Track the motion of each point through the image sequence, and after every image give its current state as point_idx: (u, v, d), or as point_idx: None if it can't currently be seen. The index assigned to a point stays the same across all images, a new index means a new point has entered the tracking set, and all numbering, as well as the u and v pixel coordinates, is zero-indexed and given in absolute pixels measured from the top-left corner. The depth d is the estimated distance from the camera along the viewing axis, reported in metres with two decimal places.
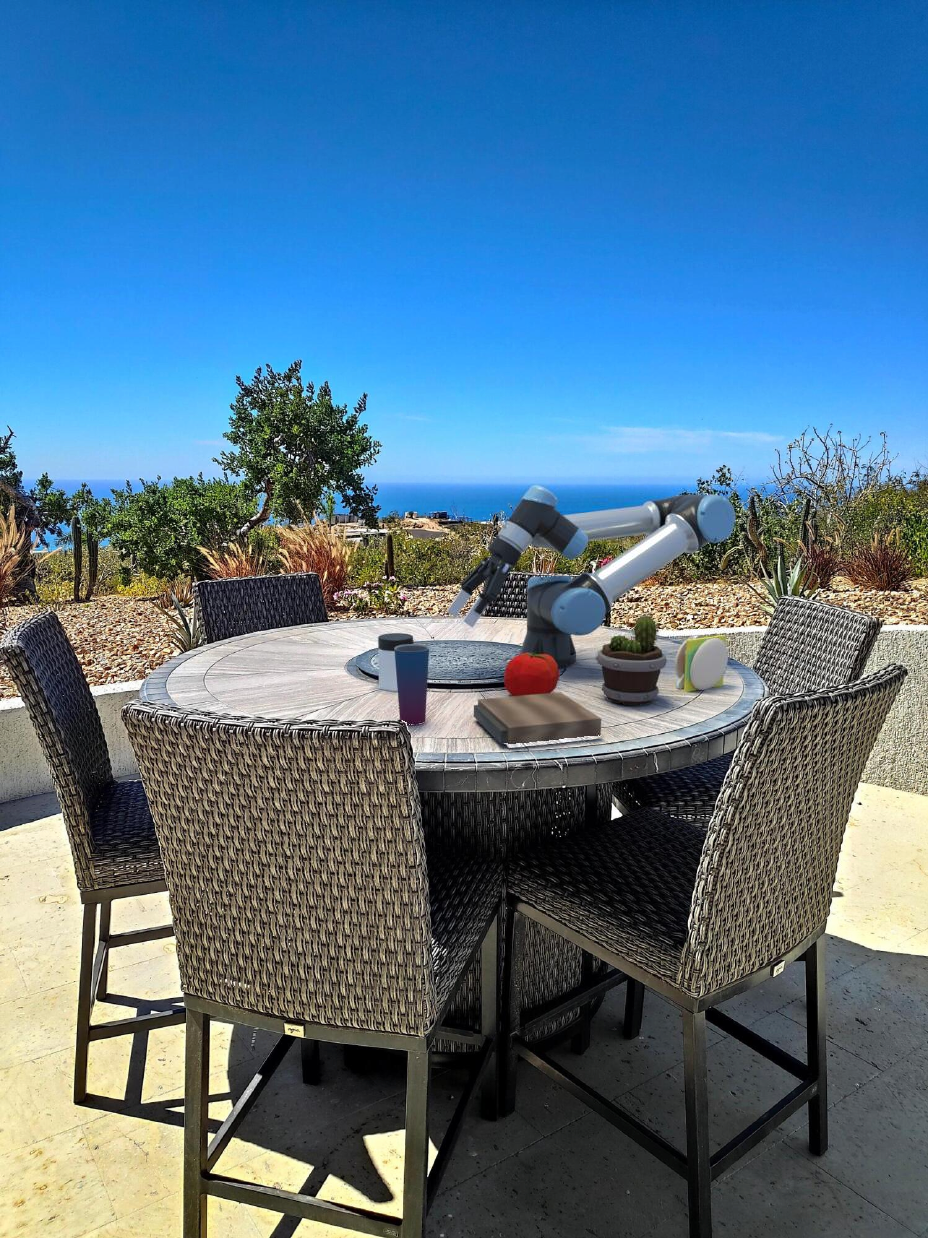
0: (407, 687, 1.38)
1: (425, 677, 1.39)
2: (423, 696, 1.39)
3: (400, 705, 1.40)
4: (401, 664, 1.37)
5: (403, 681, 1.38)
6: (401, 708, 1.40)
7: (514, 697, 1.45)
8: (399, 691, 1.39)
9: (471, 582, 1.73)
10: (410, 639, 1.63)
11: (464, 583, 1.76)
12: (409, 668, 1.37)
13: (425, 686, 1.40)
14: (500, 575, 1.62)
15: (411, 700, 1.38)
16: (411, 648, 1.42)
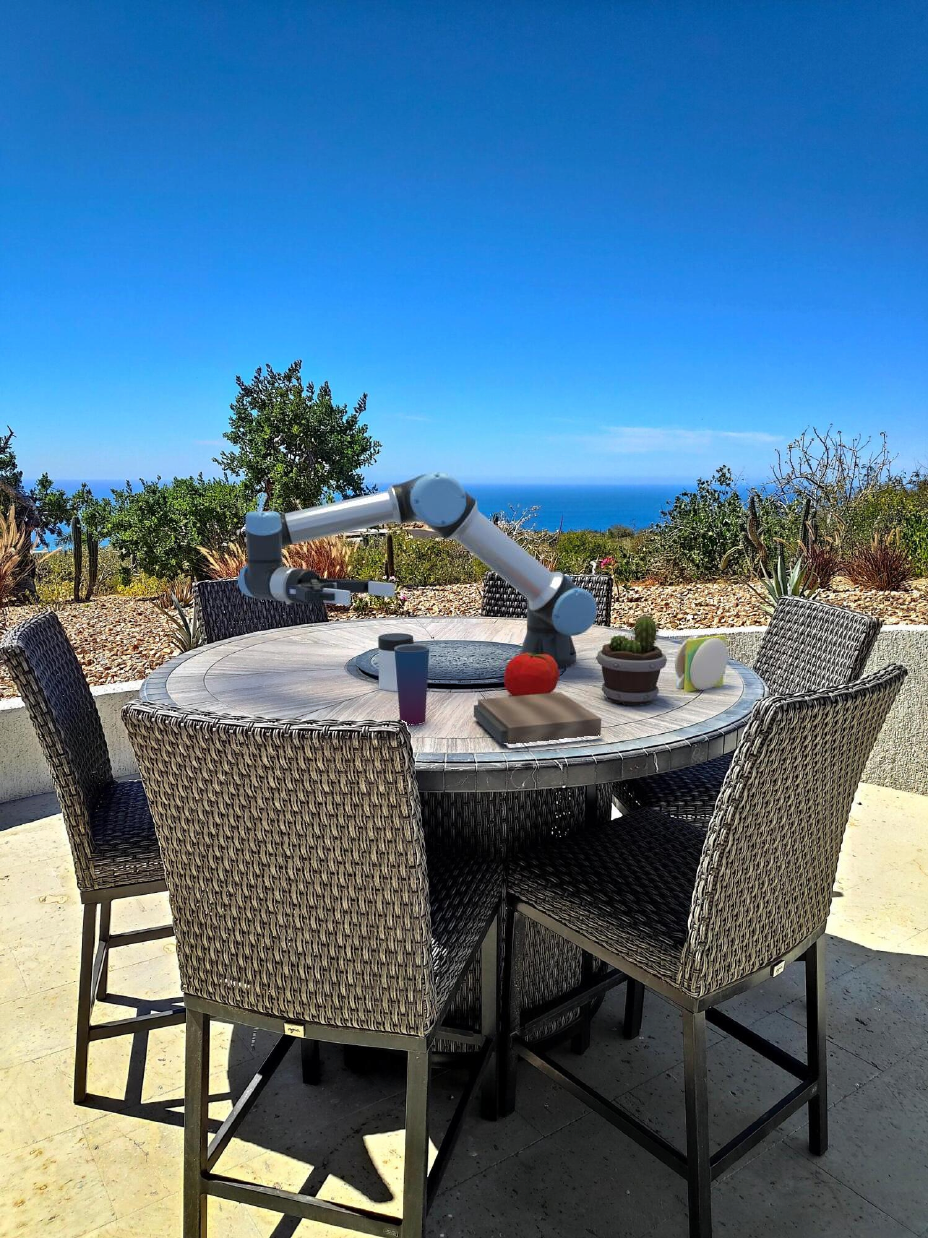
0: (407, 687, 1.38)
1: (425, 677, 1.39)
2: (423, 696, 1.39)
3: (400, 705, 1.40)
4: (401, 664, 1.37)
5: (403, 681, 1.38)
6: (401, 708, 1.40)
7: (514, 697, 1.45)
8: (399, 691, 1.39)
9: (355, 591, 1.52)
10: (410, 639, 1.63)
11: None
12: (409, 668, 1.37)
13: (425, 686, 1.40)
14: (297, 594, 1.44)
15: (411, 700, 1.38)
16: (412, 648, 1.42)
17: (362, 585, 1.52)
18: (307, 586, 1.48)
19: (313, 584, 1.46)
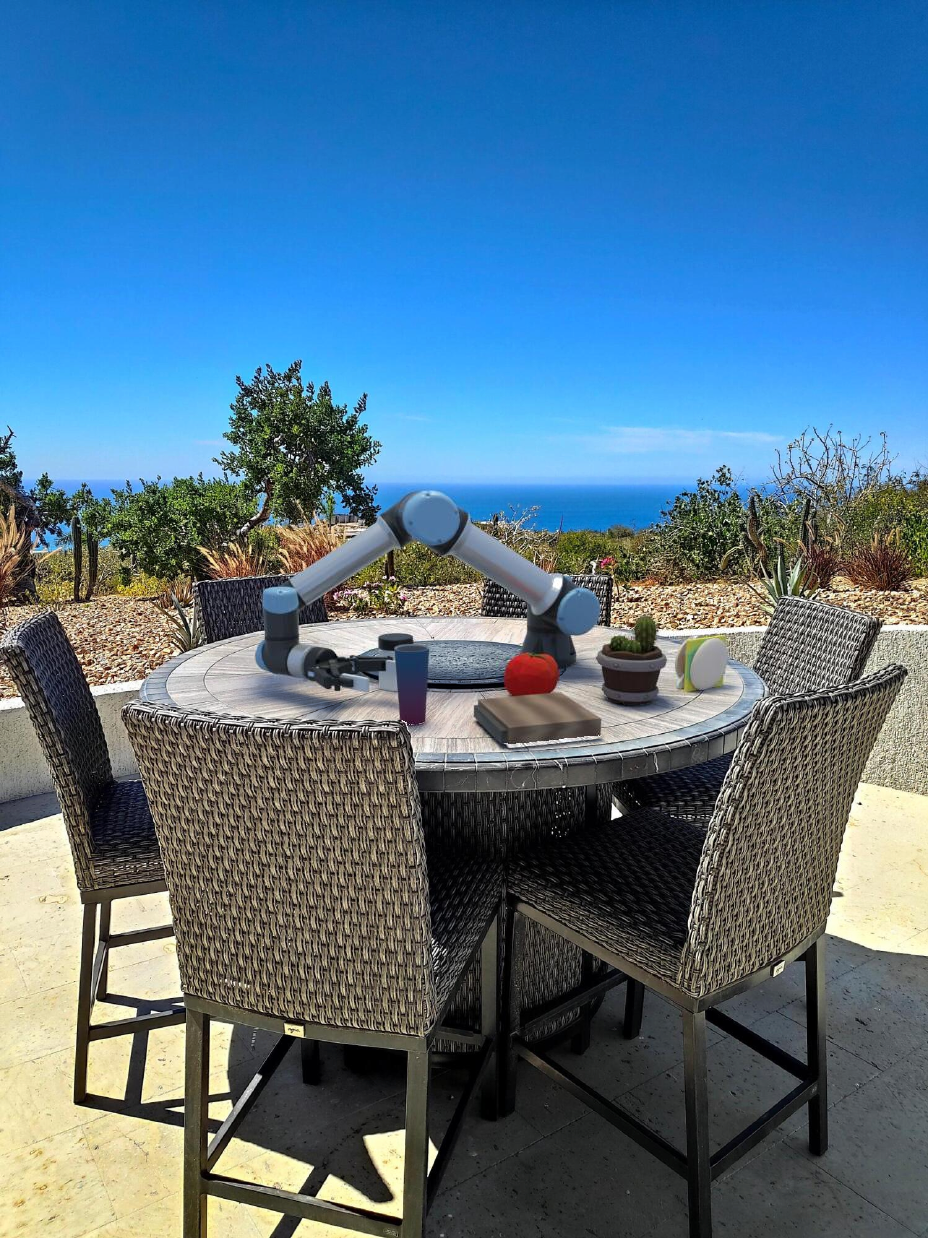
0: (407, 687, 1.38)
1: (425, 677, 1.39)
2: (423, 696, 1.39)
3: (400, 705, 1.40)
4: (401, 664, 1.37)
5: (403, 681, 1.38)
6: (401, 708, 1.40)
7: (514, 697, 1.45)
8: (399, 691, 1.39)
9: (372, 669, 1.52)
10: (410, 639, 1.63)
11: None
12: (409, 668, 1.37)
13: (425, 686, 1.40)
14: (315, 677, 1.44)
15: (411, 700, 1.38)
16: (412, 648, 1.42)
17: (379, 664, 1.52)
18: (325, 667, 1.48)
19: (331, 666, 1.46)
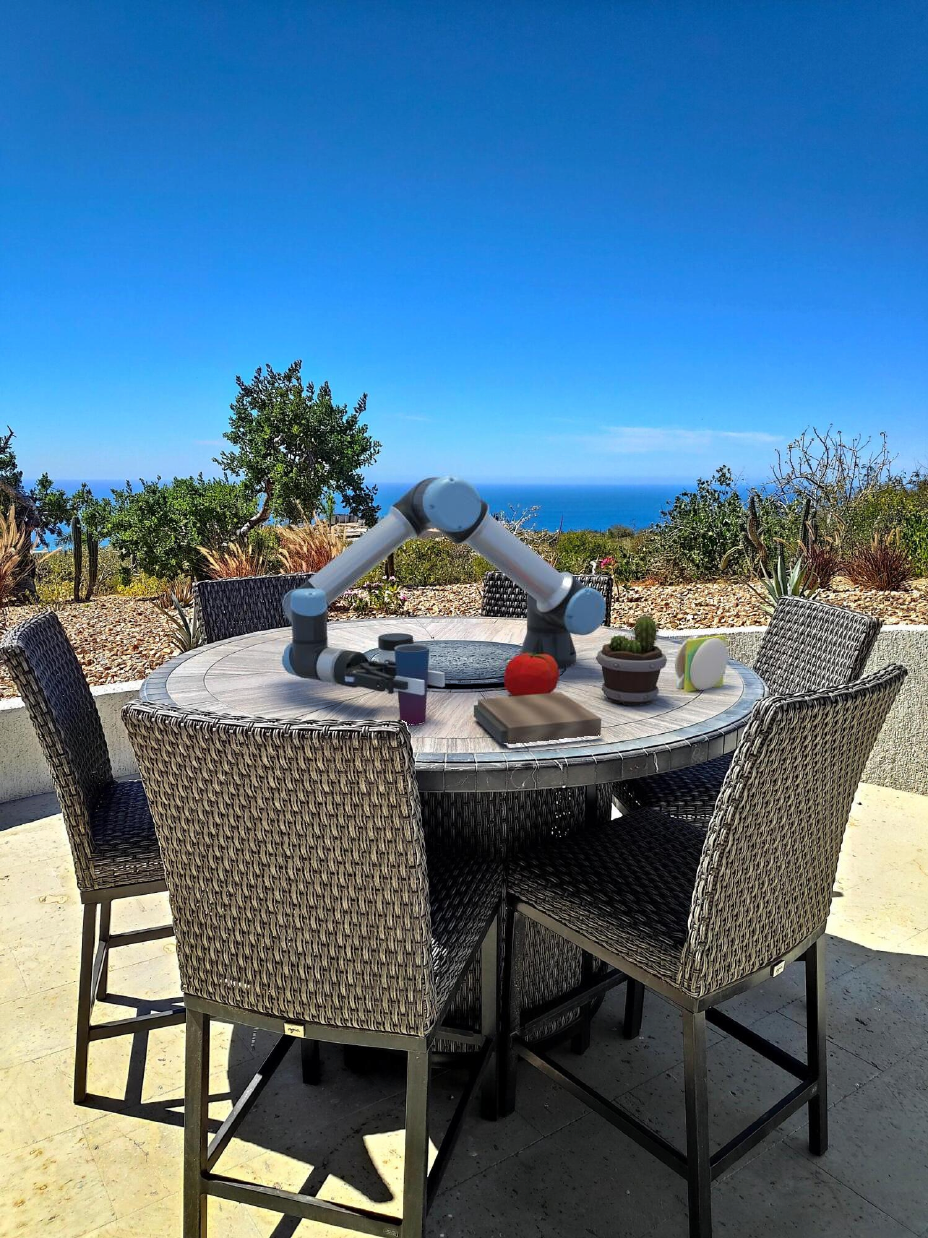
0: None
1: (425, 677, 1.39)
2: (423, 696, 1.39)
3: (400, 705, 1.40)
4: (401, 664, 1.37)
5: None
6: (401, 708, 1.40)
7: (514, 697, 1.45)
8: (399, 691, 1.39)
9: None
10: (410, 639, 1.63)
11: None
12: (409, 668, 1.37)
13: (425, 686, 1.40)
14: (358, 682, 1.40)
15: (411, 700, 1.38)
16: (412, 648, 1.42)
17: None
18: (359, 671, 1.44)
19: (371, 670, 1.42)
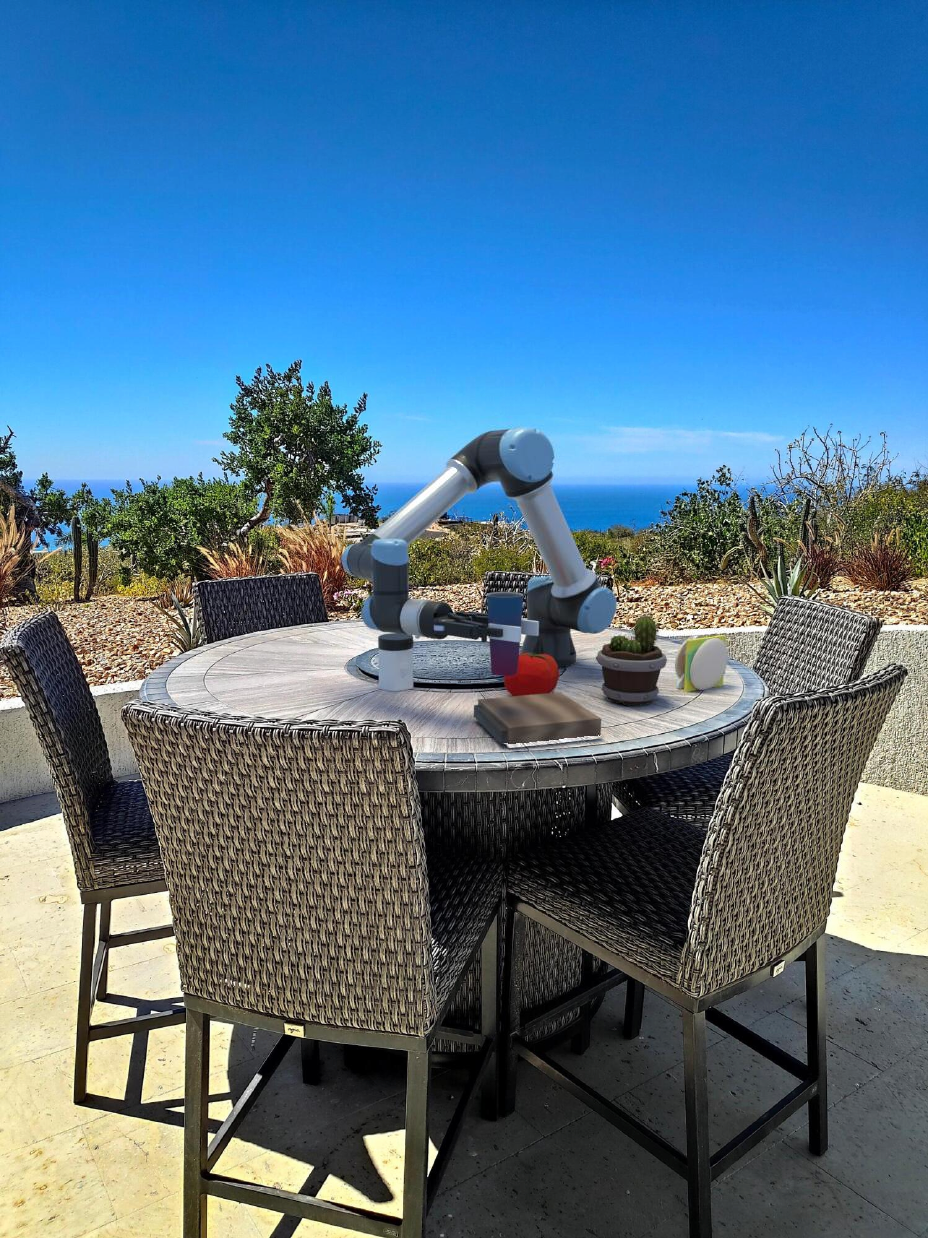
0: None
1: (519, 625, 1.33)
2: (517, 645, 1.33)
3: (492, 655, 1.34)
4: (495, 611, 1.31)
5: None
6: (494, 658, 1.34)
7: (514, 697, 1.45)
8: (492, 640, 1.33)
9: None
10: (410, 639, 1.63)
11: None
12: (504, 615, 1.31)
13: None
14: (448, 630, 1.34)
15: (505, 649, 1.32)
16: (503, 596, 1.36)
17: None
18: (447, 621, 1.38)
19: (461, 619, 1.36)
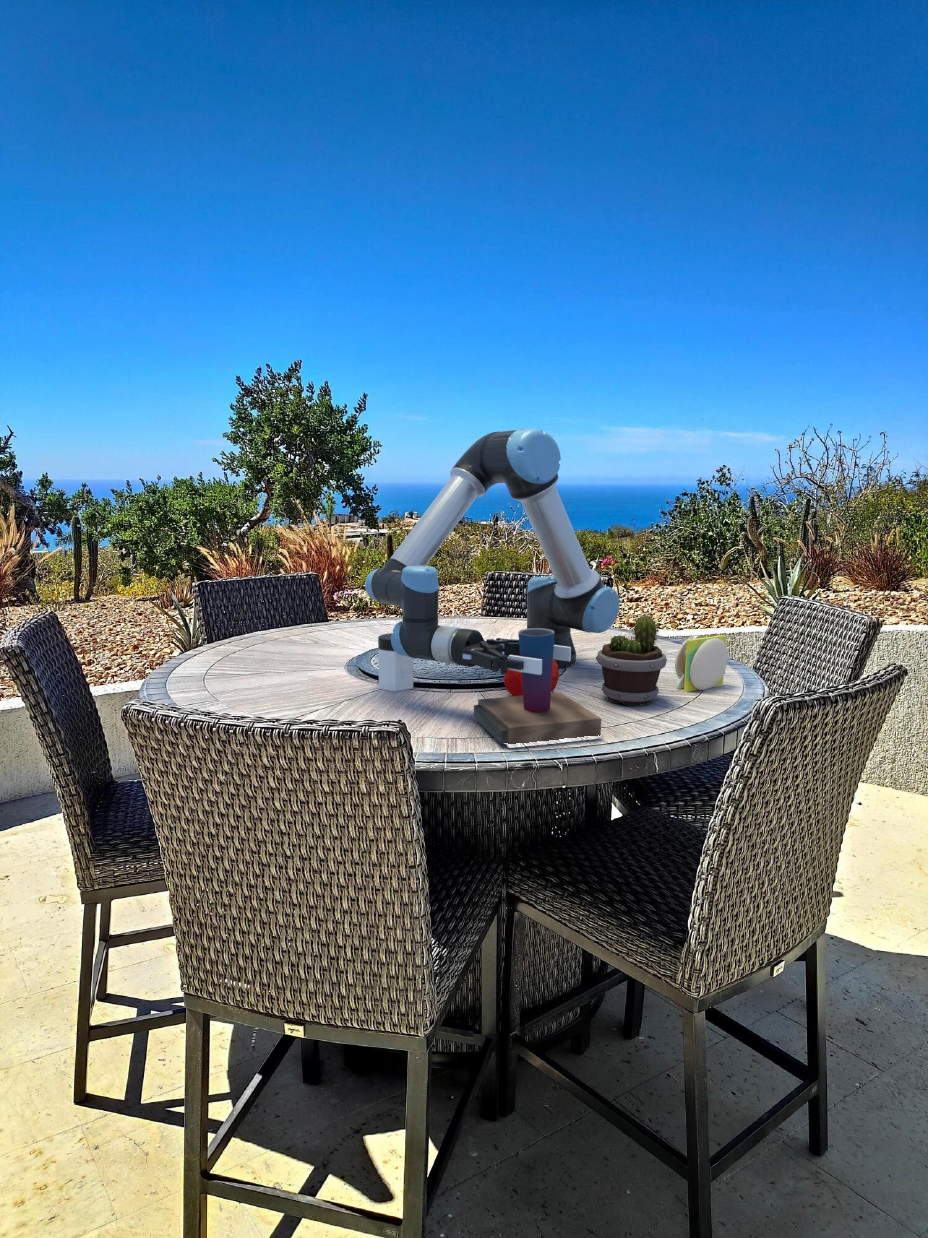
0: None
1: (551, 662, 1.34)
2: (549, 682, 1.35)
3: (525, 691, 1.35)
4: (528, 649, 1.32)
5: None
6: (526, 695, 1.35)
7: (514, 697, 1.45)
8: (524, 677, 1.34)
9: None
10: None
11: None
12: (536, 653, 1.32)
13: (551, 671, 1.35)
14: (474, 660, 1.35)
15: (538, 686, 1.33)
16: (533, 633, 1.37)
17: None
18: (478, 650, 1.38)
19: (488, 648, 1.37)
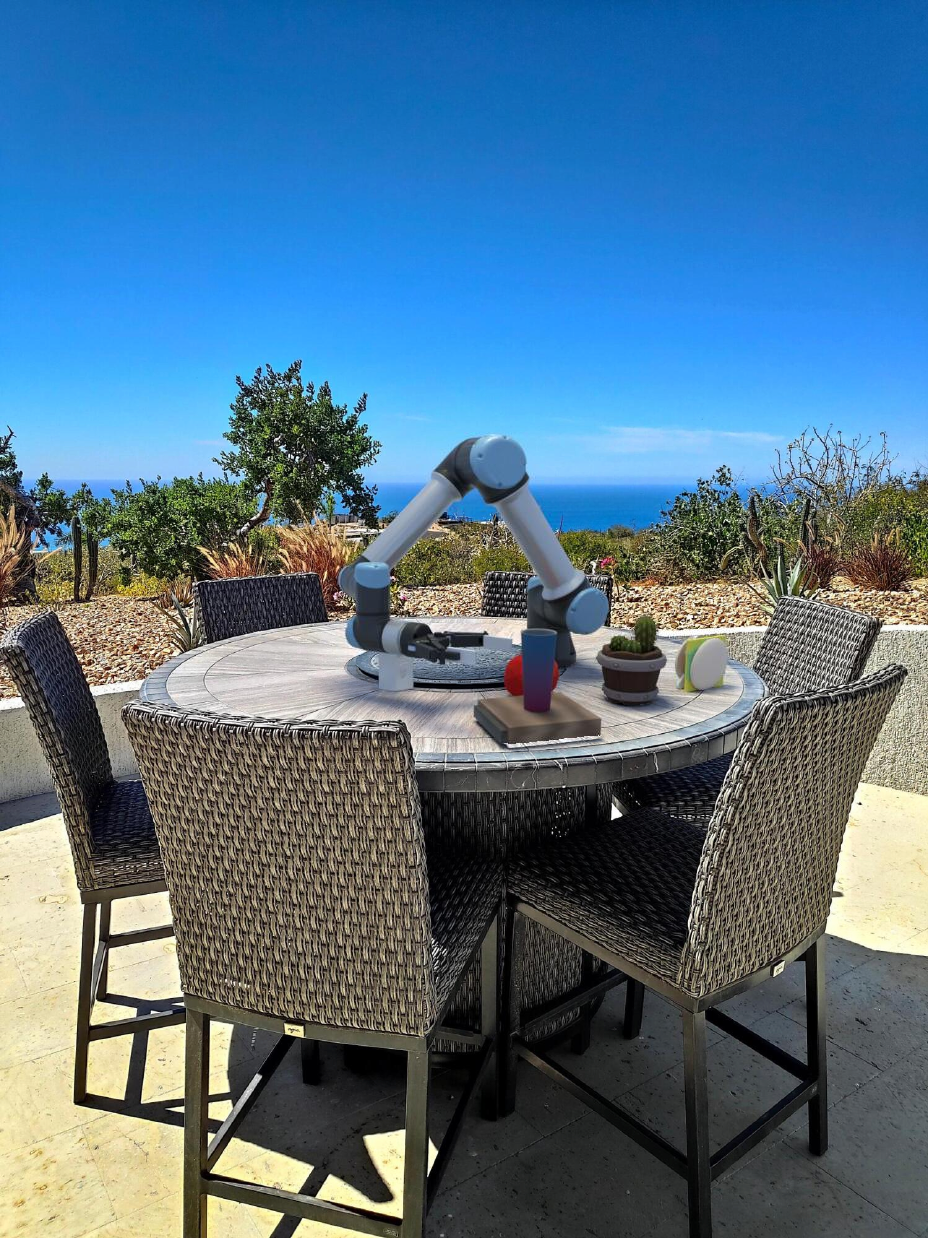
0: (536, 672, 1.33)
1: (553, 662, 1.34)
2: (550, 682, 1.35)
3: (526, 691, 1.35)
4: (530, 648, 1.32)
5: (531, 666, 1.33)
6: (527, 694, 1.35)
7: (514, 697, 1.45)
8: (526, 676, 1.35)
9: (469, 645, 1.50)
10: None
11: None
12: (539, 652, 1.32)
13: (552, 672, 1.35)
14: (417, 651, 1.42)
15: (539, 686, 1.34)
16: (536, 633, 1.38)
17: (476, 639, 1.50)
18: (424, 642, 1.45)
19: (432, 640, 1.44)
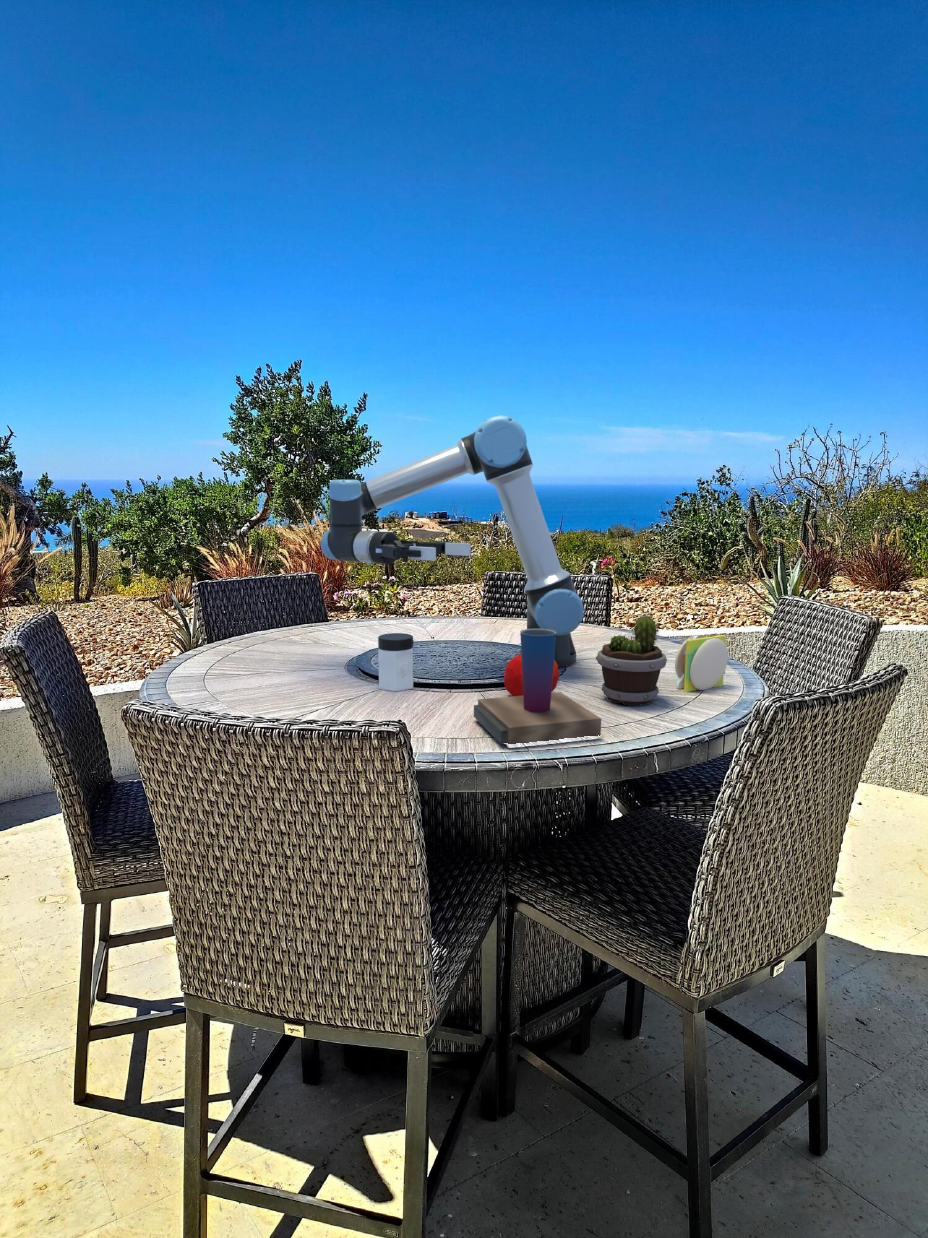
0: (536, 672, 1.33)
1: (553, 662, 1.34)
2: (550, 682, 1.35)
3: (526, 691, 1.35)
4: (529, 649, 1.32)
5: (531, 666, 1.33)
6: (527, 694, 1.35)
7: (514, 697, 1.45)
8: (525, 677, 1.34)
9: None
10: (410, 639, 1.63)
11: None
12: (538, 653, 1.32)
13: (552, 672, 1.35)
14: (383, 552, 1.57)
15: (539, 686, 1.34)
16: (535, 633, 1.38)
17: (439, 546, 1.65)
18: (391, 546, 1.60)
19: (397, 544, 1.59)
